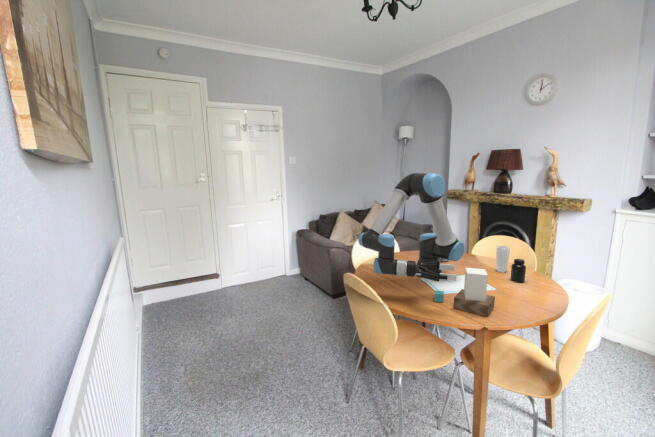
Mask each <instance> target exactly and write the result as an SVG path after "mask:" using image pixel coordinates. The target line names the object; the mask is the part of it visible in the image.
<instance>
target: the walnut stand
mask: <svg viewBox="0 0 655 437" xmlns="http://www.w3.org/2000/svg"><path fill="white" fill-rule="evenodd" d="M495 298H496V296H494V295H489V294H486V302H483V301H475V300H467V299H465V295H464V288H462V289H461V290H460V291H459V292H458V293H457V294H456V295H455V296H454V297H453V309H457V310H459V311H464V312H467V313H471V314H475V315H479V316H482V317H485V318H489V316H490V315H491V312H492V311H493V309H494V308H495V303H496V302H495Z"/></svg>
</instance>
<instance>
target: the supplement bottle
mask: <svg viewBox="0 0 655 437" xmlns="http://www.w3.org/2000/svg"><path fill="white" fill-rule="evenodd" d="M525 262H526V260H524V259H522V258H514V260H513V263H512V264H511V266H510V268H511V269H510V281H511V282H514V283H525V281H526V274H527V272H526V271H527V266H526V265H525Z"/></svg>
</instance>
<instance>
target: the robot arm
mask: <svg viewBox="0 0 655 437" xmlns="http://www.w3.org/2000/svg"><path fill="white" fill-rule="evenodd" d="M445 191H446V181H445V178H444V177H443V176H442V175H440V174H438V173H433V172H428V173H420V172H418V173H417V172H414V173H410V174H408V175H406V176H404V177H403V178H402V179H401V180H399V182H398V183H397V184H396V186H395V187H394V188H393V189H392V195H390V197H389V199H388V200H387V202H386V204H385V205H384V206H383V208H382V209H381V211H380V212H379V214H378V215H377V217H376V218H375V219H374V221H373V222H372V224H371V225H370V227H369V228H368V230H367V231H366V232H362V233H360V234H359V236H358V239H357V241H358V244H359V246H361V247H363V248H365V249H368V250H372V251H375V252H377V253H378V254H377V255H378V256H377V257H375V258H374V260H373V272H374V273H376V274H381V275H389V276H390V275H391V276H399V277H406V276H407V277H409V278H414V277H418V278H421V279H427V280H431V281H434V282H439V283H440V281H451V282H456V281H457V279H456V278H457V274H453V273H443V271H449V272H450V271H451V272H452V271H453V272H454V271H455V264H449V263H447V264H446V263H441V261H440V260H439V257H440V258H443V259H447V260H449V261H450V262H458V261H459V260H461V259H462V257H463V256H464V253H465V250H466V246H465V243H464V242H463V241H461V240H459V239H458V237H457V234H456V233H454V232H453V230H452V227H451V224H450V222H449V221H450V220H449V218H448V215H447V211H446V208H445V206H444V203H443V199H442V198H443V197H444V194H445V193H446V192H445ZM413 196H418V197H419V200H420V202H421V203H422V204H424V205H425V208H426V211H427V214H428V217H429V219H430V222H431V225H432V228H433V231H434V232H427V233H422V234H420V235H419V241H418V242H419V243H418V244H419V246H418V250H419V251H418V259H417V262H416V261H415V260H406V259H397V258H396V259H395V245H396V243H395V236H394V235H393V234H391V233H385V232H386V231H387V229H388V227H390V225H391V223H392V221H393V220H394V218H395V217H396V215H397V214H398V212H399V211H400V209H401V208H402V207H403V205H404V203H405V202H406V201H409V200H410V198H411V197H413ZM449 261H448V262H449Z"/></svg>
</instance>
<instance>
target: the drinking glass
mask: <svg viewBox="0 0 655 437" xmlns="http://www.w3.org/2000/svg"><path fill="white" fill-rule="evenodd" d="M510 249H511V248H510V247H509V246H506V245H497V246H496V252H495V253H496V272H499V273H506V272H507V270H508V264H509V259H510V252H511V250H510Z"/></svg>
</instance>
